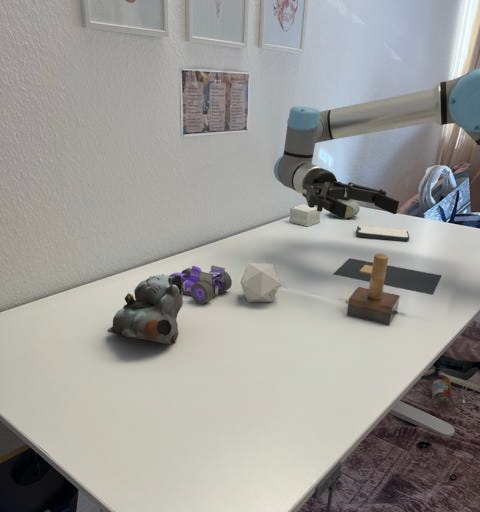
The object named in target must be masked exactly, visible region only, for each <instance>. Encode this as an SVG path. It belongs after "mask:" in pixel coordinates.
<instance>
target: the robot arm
mask: <svg viewBox="0 0 480 512" xmlns="http://www.w3.org/2000/svg"><path fill="white" fill-rule="evenodd" d="M430 123H436V124H438V125H439V126H443V125H451V124H455V125H456V126H457V127H459V128H460V129H462V130H463V131H464V132H465V133H466V134H467V135H468V136H469V137H470V138H471V140H473V142H474V143H476V145H477V146H478V147H480V67H478V68H475V69H473V70H470V71H469V72H466V73H465V74H463V75H461V76H458V77H456V78H453V79H450V80H446V81H445V80H444V81H440V82H438V83H437V84H436V85H435V86H434V88H429V89H424V90H419V91H415V92H409V93H404V94H399V95H395V96H389V97H384V98H379V99H375V100H371V101H366V102H360V103H356V104H351V105H346V106H340V107H335V108H332V109H326V110H321V111H320V109H318V108H315V107H309V106H301V105H300V106H299V105H298V106H297V105H295V106H292V107H291V108H290V110H289V114H288V118H287V120H286V124H287V126H286V133H285V140H284V149H283V153H282V155H281V156H280V157H278V158H277V160H276V162H275V163H274V166H273V175H274V177H275V179H276V181H278V182H279V183H281V184H282V185H283V186H284V187H286V188H289V189H291V190H293V191H295V192H297V193H299V194H300V195H301V196H302V197H304V198H305V200H306V203H307V205H308V206H309V207H310V208H314V207H315V206H316V207H317V211H320V212H321V213H322V212H323V210H325V211H327V212H329V213H330V212H331V213H333V214H334V215H336V216H338V217H340V218H339V219H342V218H345V214H346V208H347V205H346V204H344V203H342V202H340V201H338V199H341V200H346V201H348V200H350V199H352V200H354V201H358V202H363V203H368V204H373V205H374V206H375V207H377V208H380V209H382V210H383V211H385V212H388V213H390V214H392V215H397V213H398V209H399V205H400V201H399V200H397V199H394V198H393V197H390V196H387V191H385V190H384V189H382V188H380V189H376V188H373V187H368V186H364V185H359V184H356V183H353V182H351V181H350V182H348V183H343V182H342V181H338V180H337V178H336V175H335V174H334V173H333V172H332V171H330V170H328V169H326V168H322V167H321V166H319V165H317V164H313V158H314V153H315V148H316V144H317V143H322V142H328V141H333V140H338V139H339V140H340V139H344V138H349V137H350V138H351V137H356V136H362V135H366V134H373V133H379V132H383V131H390V130H395V129H396V130H397V129H402V128H408V127H413V126H419V125H424V124H430ZM345 191H346V192H347V197H344V195H345ZM331 213H330V214H331ZM334 215H333V216H334ZM336 216H335V217H336ZM338 217H337V218H338Z"/></svg>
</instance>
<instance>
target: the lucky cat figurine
mask: <svg viewBox="0 0 480 512" xmlns="http://www.w3.org/2000/svg"><path fill="white" fill-rule="evenodd" d="M181 289H183V286H182V282H181V275H178V276H175V277H174V278H172V277H169V275H167V274H156V275H149V277H148V278H146V279H144V280H142V281H140V282H139V283H137V285H136V286H135V288H134V290H133V292H134V295H133V294H131V293H130V292H129V293H127V294H126V295H125V297H124V301H125V303H126V304H124V305H123V307H122V308H120V309H119V310H117V311H116V313H115V315H114V316H113V318H112V326H111V327H109V328H108V329H106V332H107V333H111V334H115V335H118V336H120V337H127V338H132V339H137V340H147V341H151V342H154V343H160V344H168V345H169V344H170V345H173V344H175V343H176V340H177V339H178V337H179V327H178V321H177V318H178V314H179V312H180V311H181V309H182V308H183V304H184V299H183V297H184V296H183V295H184V294H182V292H181Z"/></svg>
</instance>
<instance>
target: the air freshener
mask: <svg viewBox="0 0 480 512" xmlns="http://www.w3.org/2000/svg"><path fill="white" fill-rule="evenodd" d="M344 197H347V192H346V191H345V195H344ZM338 201H340V202H342V203H344V204H346V205H347V208H346V214H345V218H340V217H338V216H336V215H334V214H333V213H331V212H329V213H330V214H331V215H332V216H334V217H336V218H338V219H342V220H343V219H344V220H345V219H346V220H347V219H351V218H354V217H355V216H356V215H358V214H359V213H360V211H361V210H360V205H359V203H358V202H357V201H356V200H352V199H350V200H348V201H346V200H341V199H338Z"/></svg>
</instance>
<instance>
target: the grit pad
mask: <svg viewBox="0 0 480 512" xmlns="http://www.w3.org/2000/svg"><path fill="white" fill-rule="evenodd" d="M372 267H373V266H369V265H364V267H363V268H362V269H361V270H360V272H359V273H363V274H368V275H371V273H372Z"/></svg>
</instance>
